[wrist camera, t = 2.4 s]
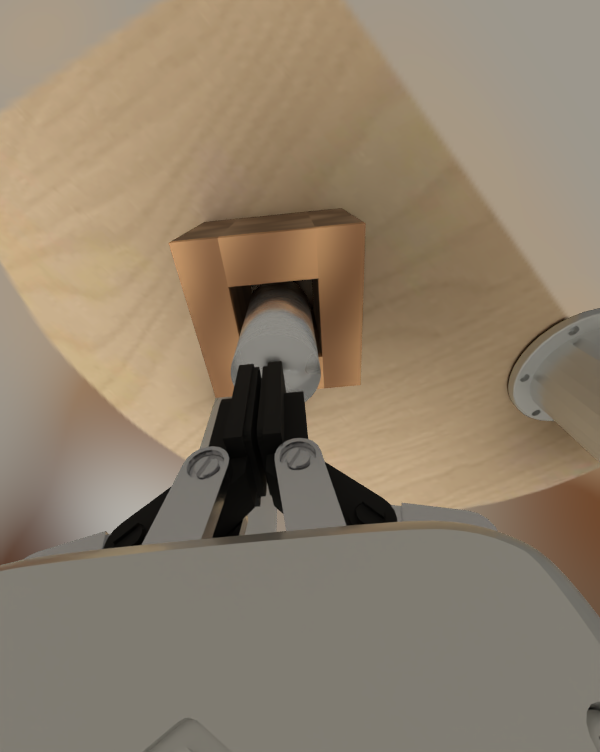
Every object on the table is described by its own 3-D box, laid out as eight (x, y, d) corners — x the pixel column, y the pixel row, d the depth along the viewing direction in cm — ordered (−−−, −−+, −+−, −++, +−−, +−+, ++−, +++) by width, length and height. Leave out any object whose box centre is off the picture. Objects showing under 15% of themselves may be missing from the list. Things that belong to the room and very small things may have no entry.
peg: (307, 275, 19) (318, 330, 12) (311, 333, 21) (322, 406, 15) (244, 281, 19) (221, 339, 12) (254, 338, 21) (240, 413, 15)
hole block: (341, 208, 22) (365, 223, 15) (342, 333, 27) (360, 384, 21) (204, 222, 22) (168, 243, 15) (233, 343, 28) (215, 397, 21)
